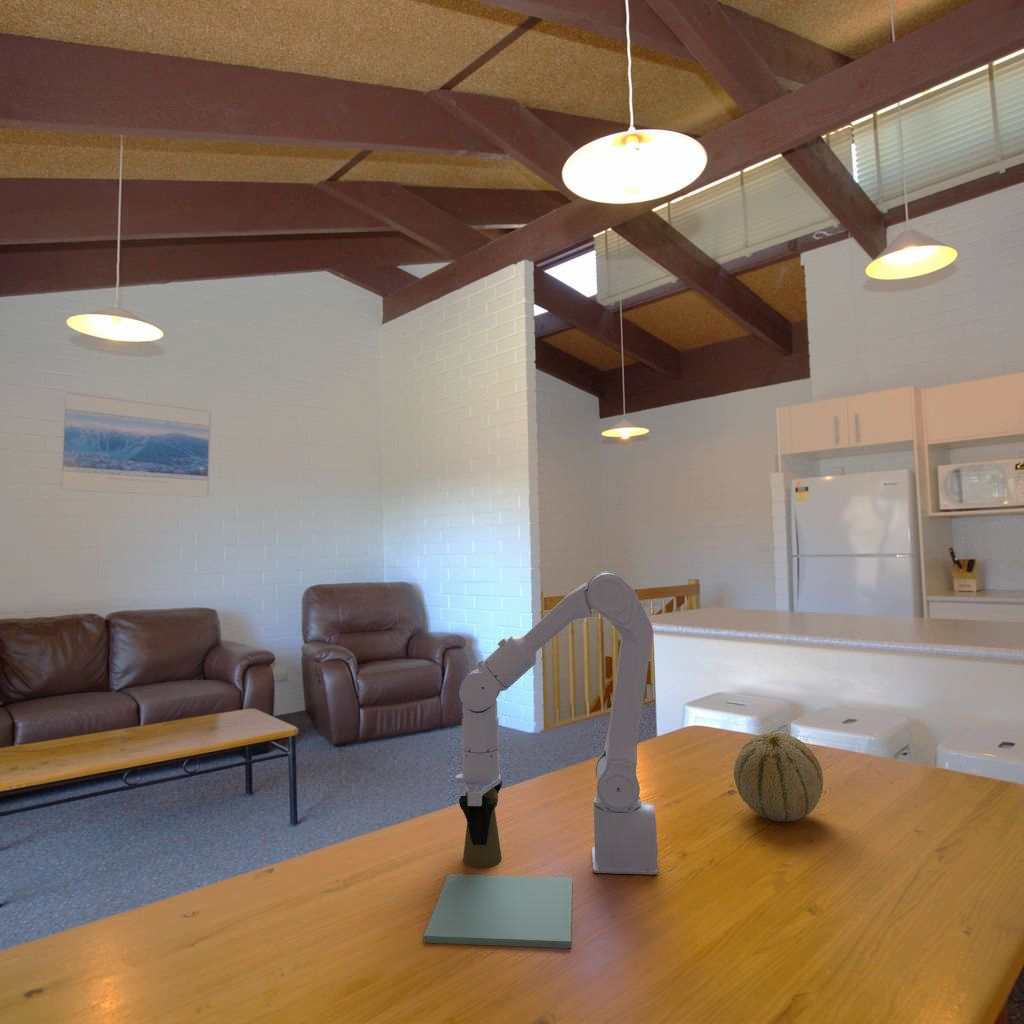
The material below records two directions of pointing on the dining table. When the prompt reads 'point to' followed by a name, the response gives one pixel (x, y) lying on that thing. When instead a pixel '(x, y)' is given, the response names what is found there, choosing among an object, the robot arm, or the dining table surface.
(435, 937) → the teal board
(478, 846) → the olive game pawn
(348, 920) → the dining table surface
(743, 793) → the cantaloupe
